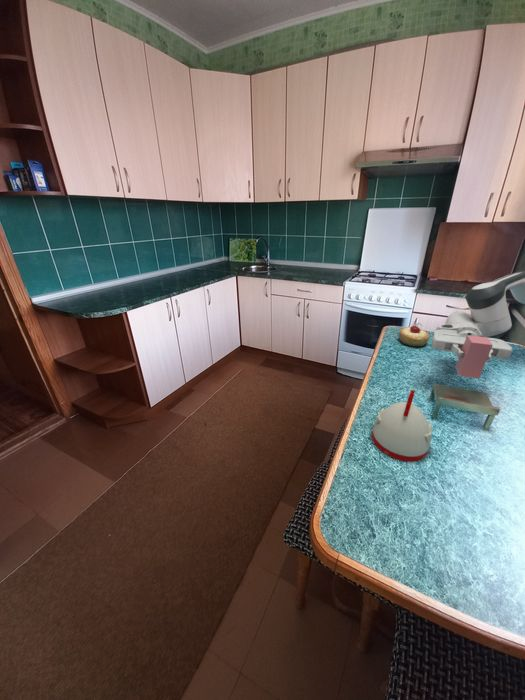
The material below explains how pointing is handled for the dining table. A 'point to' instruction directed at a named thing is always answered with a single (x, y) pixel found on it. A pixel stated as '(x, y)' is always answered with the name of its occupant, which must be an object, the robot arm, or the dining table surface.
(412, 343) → the pastry
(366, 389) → the dining table surface
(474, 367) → the pink carton
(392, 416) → the kitchen timer
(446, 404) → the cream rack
